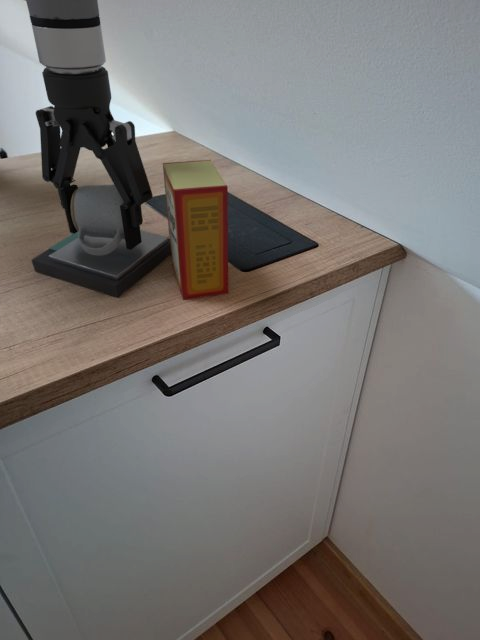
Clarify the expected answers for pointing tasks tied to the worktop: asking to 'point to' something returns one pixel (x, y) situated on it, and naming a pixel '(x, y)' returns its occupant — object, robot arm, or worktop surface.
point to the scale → (93, 280)
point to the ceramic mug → (98, 216)
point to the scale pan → (108, 255)
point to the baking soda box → (197, 227)
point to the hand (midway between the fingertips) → (105, 237)
